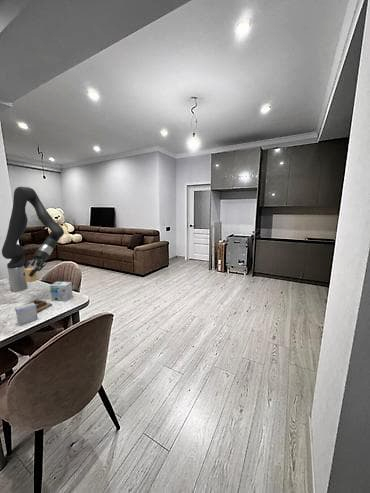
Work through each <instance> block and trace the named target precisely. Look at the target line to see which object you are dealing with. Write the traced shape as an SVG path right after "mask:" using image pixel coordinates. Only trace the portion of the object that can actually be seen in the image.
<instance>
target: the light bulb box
mask: <svg viewBox="0 0 370 493" xmlns="http://www.w3.org/2000/svg"><path fill="white" fill-rule="evenodd" d="M72 285H73V284H72V281H55V282H53V283H51V284H50V285H49V289H50V298H51V299H50V300H51V301H53V302H54V301H56V302H57V301H58V302H68V301H69V300H70V299H72V298H73V297H74V294H73V286H72Z"/></svg>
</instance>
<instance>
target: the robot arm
mask: <svg viewBox="0 0 370 493" xmlns="http://www.w3.org/2000/svg"><path fill="white" fill-rule="evenodd" d="M27 203H30V205H32V207H33V208H34V210H35V213H36V216H37V218H38V220H39V221H40V222H41V223H42V225H43V226H44V227H45V228H46V229H47V228H48V229H49V230H50V231H51V232H50V233H49V234H48V236H47V238H46V239H45V240H44V241H43V243H42V244H41V245H40V246H39V247H38V248H37V250H36V251H35V253H34V255H33V258H32V259H31V260H30V259H28V260H27V261H26V258H25V250H24V248H23V246H22V245H21V244H18V242H19V240H20V238H21V237H22V235H24V233H25V231H26V230H27V228H28V227H27V225H28V222H29V219H28V216H27V213H26V208H27V207H26V206H27ZM10 213H11V215H10V218H9V223H8V228H7V233H6V236H5V240H4V243H3V245H2V249H1V255H2V257H3V258H4V259H6V260H10V261H9V262H8V263H7V264H6V266H7V272H8V274H7V275H8V285H9V288H10V291H11V292H15V293H16V292H21V291H24V290H27V289H28V285H27V283H28V282H26V278H25V271H24V269H27V268H33V270H32V271H31V273H30V274H29V276H30V277H33V275H34V274H35V273H36V274H37V272H40V271H41V270H43V268H45V266H46V265H47V263H46V261H47V260H48V258H49V257H50V256H51V254H52V252H53V250H54V249H55V248H56V246H57V244H58V242H59V241H60V239H61V238H62V237H63V236H64V234H65V231H64V228H63V227H62V226H61V225H59V223H58V222H56V220H54V218H53V217H52V216H51V215H50V214H49V212H48V211H47V209H46V208H45V206H44V205H43V203H42V201H41V199H40V198H39V195H38V194H37V193H36V190H34V189H33V188H32V187H29V186H17V187H16V188H15V189H14V192H13V200H12V209H11V212H10ZM25 261H26V262H25ZM25 263H26V264H25Z"/></svg>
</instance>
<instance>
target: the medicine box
mask: <svg viewBox="0 0 370 493" xmlns="http://www.w3.org/2000/svg"><path fill="white" fill-rule="evenodd" d="M29 303H30V302H29ZM14 309H15V313H16V314H15V315H16V320H17V324H18V325H19V326H21V325H22V326H23V325H25V324H27V323H31V322H33V321H36V320H38V313H37V310H36V305H35V304H34V303H30V304H27V303H26V305H25V304H22V305H20V306H16V307H15V308H14Z"/></svg>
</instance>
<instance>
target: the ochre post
mask: <svg viewBox="0 0 370 493" xmlns="http://www.w3.org/2000/svg"><path fill="white" fill-rule="evenodd" d="M32 270H33V268H31V267H30V268H27V269H26V268H25V269H24V271H25V278H26V282H27V283H33V282H37V281H38V278H37V277H38V276H37V272H36V273H35V274H34V275H33V277H30V276H29V274H30V273H31V271H32Z"/></svg>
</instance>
